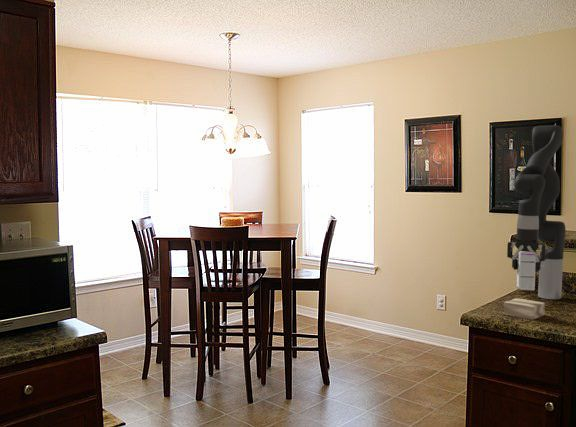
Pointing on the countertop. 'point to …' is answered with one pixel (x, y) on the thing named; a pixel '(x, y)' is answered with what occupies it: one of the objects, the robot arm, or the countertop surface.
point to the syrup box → (526, 270)
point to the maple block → (524, 308)
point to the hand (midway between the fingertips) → (525, 270)
